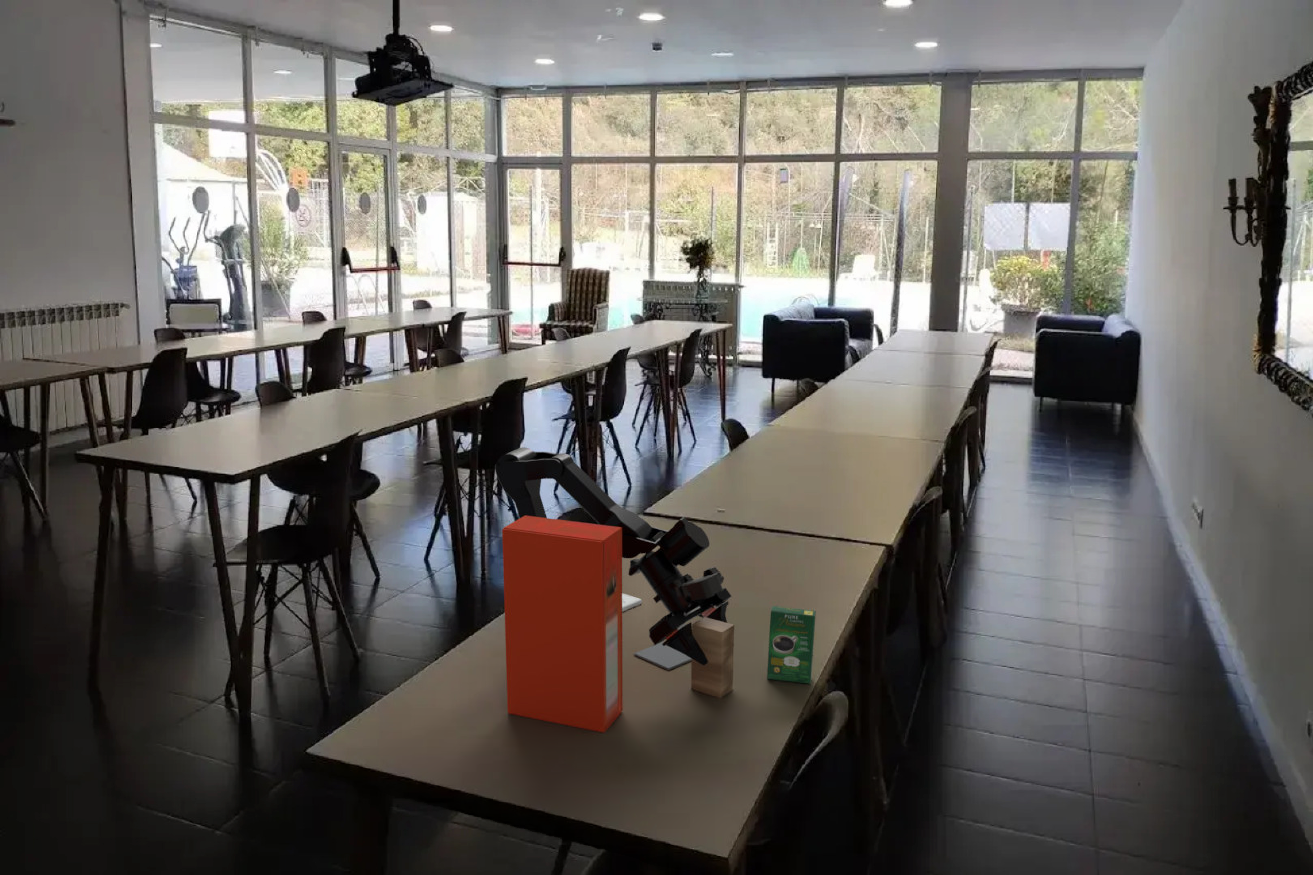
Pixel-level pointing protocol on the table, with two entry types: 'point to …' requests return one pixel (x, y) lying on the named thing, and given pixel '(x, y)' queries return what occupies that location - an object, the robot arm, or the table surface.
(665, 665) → the mat
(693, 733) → the table surface
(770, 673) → the coffee box
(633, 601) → the external hard drive
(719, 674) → the tall wooden block tower
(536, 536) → the file binder
